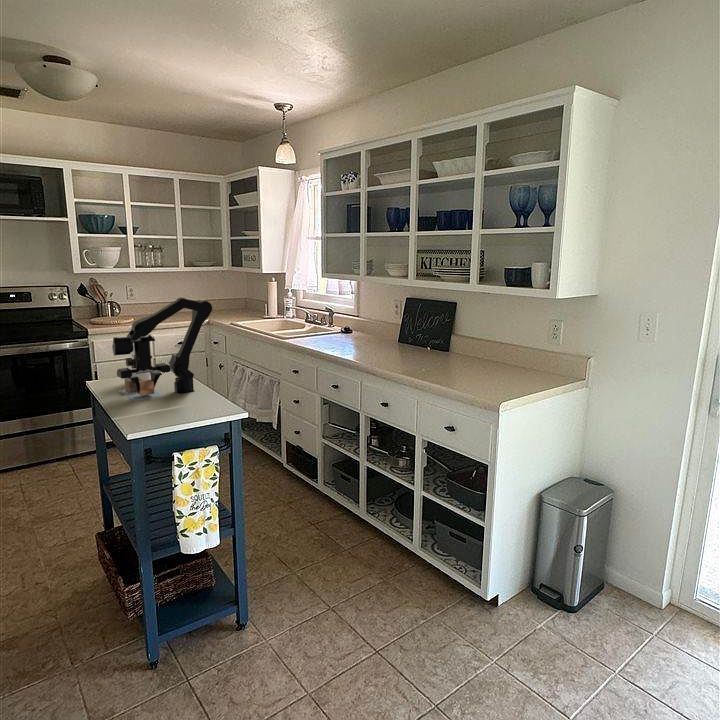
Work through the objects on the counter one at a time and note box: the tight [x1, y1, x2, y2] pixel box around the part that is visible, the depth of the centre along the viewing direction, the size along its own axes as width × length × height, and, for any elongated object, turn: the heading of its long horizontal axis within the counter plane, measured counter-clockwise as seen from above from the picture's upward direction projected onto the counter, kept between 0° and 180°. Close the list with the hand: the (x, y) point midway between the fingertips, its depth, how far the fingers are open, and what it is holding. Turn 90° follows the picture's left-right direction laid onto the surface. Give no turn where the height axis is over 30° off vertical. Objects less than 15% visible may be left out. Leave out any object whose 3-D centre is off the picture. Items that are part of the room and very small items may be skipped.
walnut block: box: [124, 378, 141, 393], centre depth 214 cm, size 5×5×5 cm
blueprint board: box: [118, 389, 166, 402], centre depth 211 cm, size 12×19×1 cm, turn 41°
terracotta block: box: [137, 379, 155, 396], centre depth 206 cm, size 5×5×5 cm
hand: (145, 391), depth 207 cm, fingers closed on terracotta block, 5 cm apart
